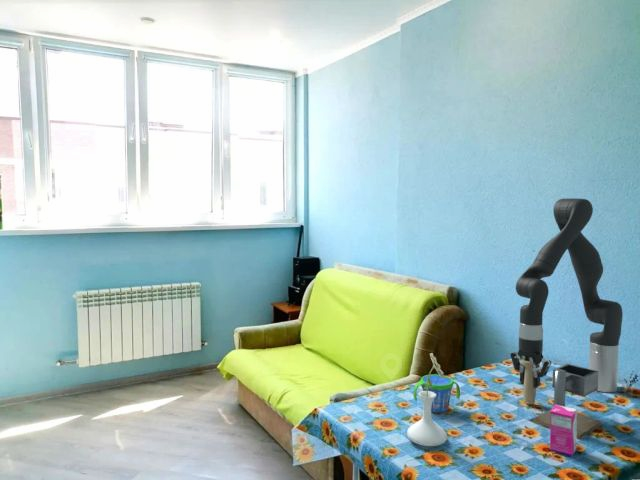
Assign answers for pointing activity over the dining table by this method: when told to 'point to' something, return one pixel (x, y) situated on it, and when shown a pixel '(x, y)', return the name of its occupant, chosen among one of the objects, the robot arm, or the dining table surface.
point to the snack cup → (438, 391)
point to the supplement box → (563, 430)
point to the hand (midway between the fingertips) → (529, 385)
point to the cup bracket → (576, 383)
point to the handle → (529, 383)
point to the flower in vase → (428, 417)
